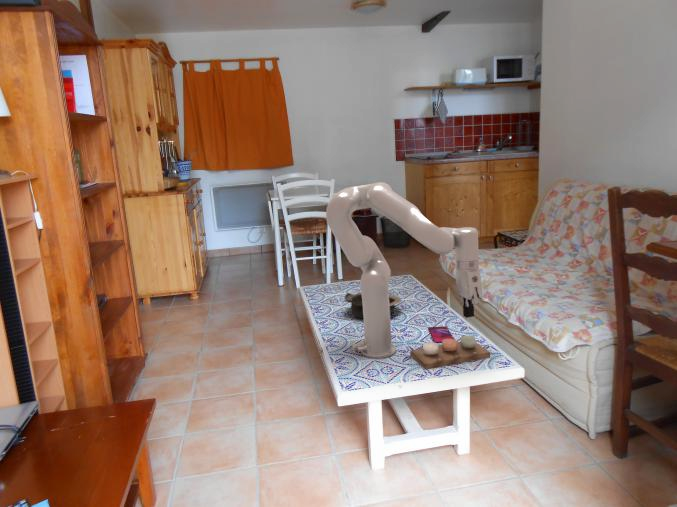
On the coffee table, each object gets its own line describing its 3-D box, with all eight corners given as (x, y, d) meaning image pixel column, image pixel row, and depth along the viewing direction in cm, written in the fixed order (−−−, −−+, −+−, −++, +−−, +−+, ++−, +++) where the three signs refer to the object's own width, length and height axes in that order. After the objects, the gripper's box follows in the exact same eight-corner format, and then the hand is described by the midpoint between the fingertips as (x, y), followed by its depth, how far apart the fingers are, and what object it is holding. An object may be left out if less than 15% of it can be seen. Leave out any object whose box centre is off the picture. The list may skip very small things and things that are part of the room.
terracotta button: (446, 352, 171) (446, 345, 170) (439, 346, 175) (439, 340, 175) (459, 349, 172) (459, 342, 171) (452, 344, 177) (452, 337, 176)
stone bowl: (338, 321, 215) (337, 300, 214) (355, 306, 239) (354, 287, 237) (395, 323, 207) (394, 301, 206) (407, 308, 231) (406, 288, 229)
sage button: (465, 348, 172) (464, 342, 172) (457, 343, 177) (457, 336, 177) (478, 346, 174) (478, 339, 173) (470, 340, 178) (470, 334, 178)
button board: (424, 369, 166) (424, 363, 165) (410, 355, 177) (410, 350, 177) (490, 357, 172) (490, 351, 171) (472, 344, 183) (472, 339, 182)
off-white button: (427, 355, 169) (426, 348, 169) (421, 349, 174) (420, 343, 173) (440, 353, 170) (440, 346, 170) (434, 347, 175) (434, 341, 174)
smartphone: (434, 342, 186) (427, 327, 201) (434, 344, 187) (427, 329, 201) (455, 341, 186) (447, 326, 201) (455, 343, 187) (447, 328, 201)
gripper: (489, 267, 163) (490, 321, 167) (466, 258, 177) (467, 308, 181) (468, 271, 161) (469, 325, 165) (446, 261, 175) (448, 311, 179)
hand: (468, 316), depth 173 cm, fingers closed
